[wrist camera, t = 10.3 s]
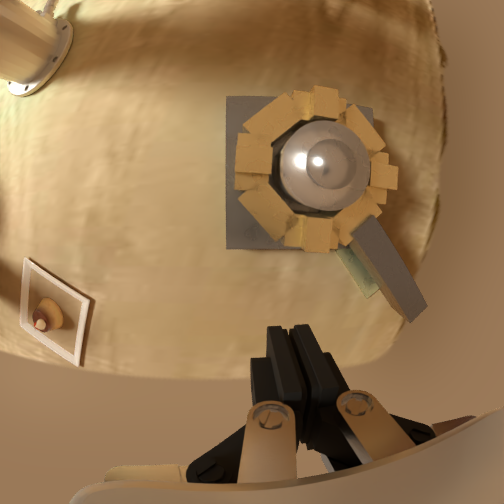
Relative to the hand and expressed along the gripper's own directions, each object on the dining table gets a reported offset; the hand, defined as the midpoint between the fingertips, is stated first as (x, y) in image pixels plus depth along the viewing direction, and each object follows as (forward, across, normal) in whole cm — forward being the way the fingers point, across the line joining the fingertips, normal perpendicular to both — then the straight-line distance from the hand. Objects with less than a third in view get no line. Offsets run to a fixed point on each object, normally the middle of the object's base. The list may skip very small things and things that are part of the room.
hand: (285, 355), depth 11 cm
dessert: (+18, +27, +8) cm, 34 cm away
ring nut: (+14, -8, -4) cm, 17 cm away
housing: (+17, -6, -5) cm, 19 cm away
